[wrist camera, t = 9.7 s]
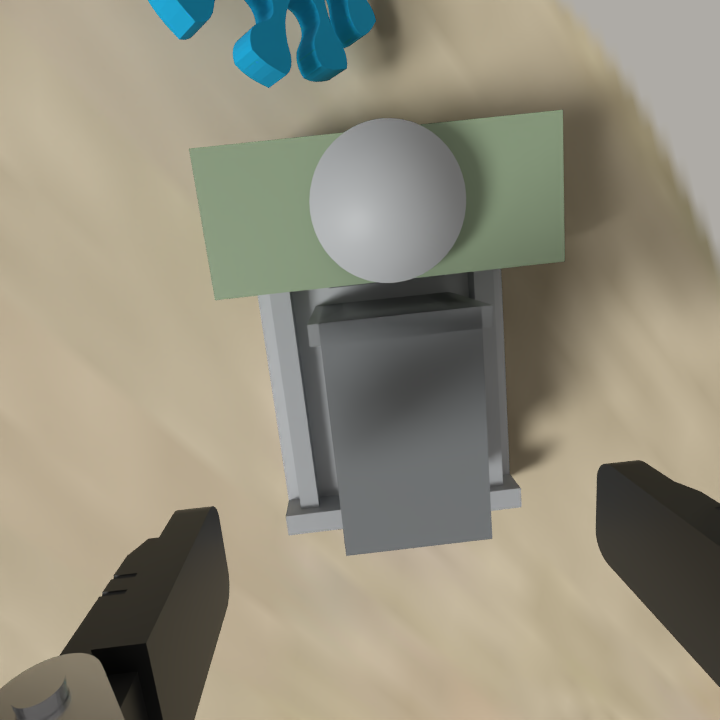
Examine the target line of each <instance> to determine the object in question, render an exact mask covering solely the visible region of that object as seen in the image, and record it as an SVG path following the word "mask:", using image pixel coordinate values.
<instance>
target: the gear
mask: <svg viewBox="0 0 720 720" xmlns="http://www.w3.org/2000/svg"><path fill="white" fill-rule="evenodd" d="M148 1H149V3H150V4H151V6H152V7H153V9H154V10H155V12H156V13H157V15H158V16H159V17H160V18H161V19H162V21H163V22H164V23H165V24H166V25H167V27H168V28H169V29H170V30H171V31H172V32H173V33H174V34H175V35H176V36H177V37H178V39H182V40H186V39H189V38H191V37H192V36H193V35H194V34H195V33H196V32H197V31H198V30H199V29H200V28H201V27H202V26H203V25H204V24H205V23H206V21H207V20H208V19H209V18H210V17H211V15H212V13H213V8H214V1H215V0H148ZM326 1H327V4H328V8H329V15H330V19H329V17H328V13H327V10H326V6H325V0H245V2H246V3H247V4H248V5H249V7H250V8H251V10H252V12H253V14H254V17H255V21H256V25H254V26H253V27H252V28H251V29H250V30H249V31H248V32H247V33H245V34H244V35H243V36H242V37H241V38H240V39H239V40H238V41H237V42H236V43H235V45H234V48H233V59H234V63H235V65H236V66H237V67H238V68H239V69H240V70H241V71H242V72H243V73H245V74H246V75H247V76H248V77H250V78H251V79H253V80H255V81H256V82H258V83H260V84H262V85H264V86H266V87H268V88H269V87H271V86H272V85H273V84H275V83H276V82H277V81H279V80H280V79H282V78H283V77H284V76H286V75H287V74H288V72H289V71H290V68H291V54H290V51H289V47H288V43H287V37H286V29H285V19H286V11H287V9H289V10H290V11H291V12H292V13H293V14H294V15H295V17H296V18H297V20H298V22H299V24H300V27H301V31H302V38H301V42H300V44H299V47H298V50H297V57H296V58H297V64H298V68H299V70H300V72H301V74H302V76H303V78H305V79H307V80H309V81H314V82H322V81H327V80H330V79H331V78H333V77H334V76H336V75H337V74H339V73H340V72H342V71H344V70H345V69H347V59H346V54H345V51H344V49H343V48H346V47H348V46H350V45H351V44H353V43H354V42H356V41H357V40H358V39H360V38H361V37H363V36H364V35H366V34H367V33H368V32H369V31H370V30H371V29H372V27H373V25H374V24H375V22H376V19H375V15H374V13H373V10H372V8H371V6H370V4H369V3H368V2H367V0H326Z"/></svg>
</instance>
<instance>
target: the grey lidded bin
mask: <svg viewBox="0 0 720 720" xmlns="http://www.w3.org/2000/svg"><path fill="white" fill-rule="evenodd" d="M491 327H493V305H490V304H487V303H484V302H481V301H478V300H475V299H471V298H468V297H465V296H462V295H459V294H456V293H452V292H442V293H433V294H424V295H414V296H405V297H395V298H386V299H376V300H367V301H358V302H348V303H339V304H329V305H320V306H315V309H314V311H313V313H312V315H311V317H310V319H309V322H308V324H307V329H308V337H309V345H310V347H315V346H321V351H322V359H323V368H324V376H325V384H326V392H327V401H328V409H329V417H330V425H331V433H332V442H333V450H334V458H335V466H336V475H337V483H338V491H339V499H340V508H341V516H342V524H343V532H344V540H345V549H346V556H349V555H357V554H366V553H374V552H383V551H391V550H400V549H408V548H417V547H425V546H434V545H442V544H451V543H459V542H468V541H476V540H485V539H492V523H491V502H490V480H489V458H488V436H487V414H486V393H485V371H484V349H483V328H491Z"/></svg>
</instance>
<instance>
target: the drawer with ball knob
mask: <svg viewBox="0 0 720 720" xmlns="http://www.w3.org/2000/svg"><path fill="white" fill-rule="evenodd" d="M189 151H190V157H191V163H192V169H193V175H194V180H195V186H196V192H197V198H198V204H199V209H200V215H201V221H202V227H203V233H204V238H205V244H206V250H207V256H208V262H209V267H210V273H211V279H212V285H213V291H214V296H215V300H221V299H230V298H239V297H248V296H257V295H258V301H259V307H260V314H261V320H262V327H263V333H264V340H265V346H266V353H267V359H268V366H269V373H270V379H271V386H272V392H273V399H274V405H275V412H276V418H277V425H278V431H279V438H280V445H281V451H282V458H283V464H284V471H285V477H286V484H287V490H288V497H289V503H288V508H287V513H286V521H287V527H288V533H289V535H295V534H304V533H312V532H320V531H328V530H337V529H343V524H342V516H341V508H340V499H339V491H338V483H337V475H336V466H335V458H334V450H333V442H332V433H331V425H330V417H329V409H328V401H327V392H326V384H325V376H324V368H323V359H322V351H321V346H315V347H310V345H309V337H308V329H307V324H308V322H309V319H310V317H311V315H312V313H313V311H314V309H315V306H320V305H329V304H339V303H348V302H358V301H367V300H376V299H386V298H395V297H405V296H414V295H424V294H433V293H442V292H452V293H456V294H459V295H462V296H465V297H468V298H471V299H475V300H478V301H481V302H484V303H487V304H490V305H493V327H491V328H483V349H484V371H485V393H486V414H487V436H488V458H489V480H490V502H491V511H493V510H501V509H510V508H518V507H521V488H520V487H519V485H518V484H517V483H516V481H515V480H514V479H513V478H512V476H511V475H510V470H509V446H508V422H507V398H506V374H505V350H504V326H503V301H502V277H501V268H510V267H519V266H528V265H537V264H546V263H555V262H564V261H565V241H564V164H563V110H555V111H546V112H536V113H527V114H517V115H507V116H498V117H488V118H479V119H469V120H459V121H450V122H440V123H431V124H421V125H418V124H416V123H414V122H411V121H407V120H403V119H395V118H380V119H374V120H369V121H366V122H363V123H360V124H358V125H356V126H354V127H352V128H350V129H349V130H347V131H346V132H344V133H335V134H325V135H316V136H306V137H296V138H287V139H277V140H268V141H258V142H248V143H239V144H229V145H220V146H210V147H200V148H191V149H189Z"/></svg>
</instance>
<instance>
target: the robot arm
mask: <svg viewBox="0 0 720 720" xmlns="http://www.w3.org/2000/svg"><path fill="white" fill-rule="evenodd" d="M596 538H597V542H598V546H599V549H600V551H601V553H602V556H603V557H604V559H605V561H606V562H607V563H608V565H609V566H610V567H611V568H612V569H613V570H614V571H615V572H616V573H617V575H618V576H619V577H620V578H621V579H622V580H623V581H624V582H625V583H626V584H627V586H628V587H629V588H630V589H631V590H632V591H633V592H634V593H635V594H636V595H637V597H638V598H639V599H640V600H641V601H642V602H643V603H644V604H645V605H646V607H647V608H648V609H649V610H650V611H651V612H652V613H653V614H654V615H655V616H656V618H657V619H658V620H659V621H660V622H661V623H662V624H663V625H664V626H665V627H666V629H667V630H668V631H669V632H670V633H671V634H672V635H673V636H674V637H675V639H676V640H677V641H678V642H679V643H680V644H681V645H682V646H683V647H684V648H685V650H686V651H687V652H688V653H689V654H690V655H691V656H692V657H693V658H694V659H695V661H696V662H697V663H698V664H699V665H700V666H701V667H702V668H703V669H704V671H705V672H706V673H707V674H708V675H709V676H710V677H711V678H712V679H713V680H714V682H715V683H716V684H717V685H718V686H719V687H720V503H718V502H716V501H715V500H713V499H712V498H710V497H709V496H707V495H705V494H704V493H702V492H700V491H698V490H695V489H692V488H690V487H687V486H685V485H682V484H679V483H677V482H674V481H673V480H671V479H670V478H668V477H666V476H665V475H663V474H662V473H660V472H659V471H657V470H656V469H654V468H653V467H651V466H650V465H648V464H647V463H645V462H643V461H640V460H636V461H627V462H618V463H609V464H603V465H601V466H600V468H599V470H598V473H597V501H596ZM102 593H103V594H102V596H101V597H99V598H98V600H97V601H96V603H95V604H94V605H93V607H92V608H91V610H90V611H89V613H88V614H87V616H86V617H85V619H84V620H83V622H82V623H81V625H80V626H79V628H78V629H77V631H76V632H75V633H74V635H73V636H72V638H71V639H70V641H69V642H68V644H67V645H66V647H65V648H64V650H63V651H62V653H61V654H60V656H57V657H53V658H51V659H48V660H45V661H43V662H41V663H39V664H36V665H34V666H33V667H31V668H29V669H27V670H25V671H24V672H22V673H21V674H19V675H18V676H16V677H15V678H13V679H12V680H11V681H9V682H8V683H7V684H6V685H4V686H3V687H2V688H1V689H0V720H194V719H195V715H196V712H197V709H198V705H199V702H200V698H201V695H202V692H203V688H204V685H205V681H206V678H207V675H208V671H209V668H210V664H211V661H212V657H213V654H214V651H215V647H216V644H217V640H218V637H219V634H220V630H221V627H222V623H223V620H224V617H225V613H226V610H227V606H228V599H229V574H228V567H227V561H226V555H225V549H224V543H223V538H222V532H221V526H220V520H219V515H218V512H217V509H216V508H215V507H214V506H212V507H203V508H194V509H185V510H177V511H175V513H174V514H173V515H172V517H171V519H170V520H169V522H168V524H167V525H166V527H165V529H164V530H163V532H162V534H161V535H160V537H159V538H151V539H148V540H146V541H145V542H144V543H143V544H142V545H140V546H139V547H138V548H137V549H135V550H134V551H133V552H132V553H130V554H129V555H128V556H127V557H126V558H125V560H124V561H123V563H122V564H121V566H120V567H119V569H118V570H117V572H116V573H115V575H114V579H112V580H110V582H109V583H108V585H107V586H106V588H105V589H104V591H103V592H102Z"/></svg>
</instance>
